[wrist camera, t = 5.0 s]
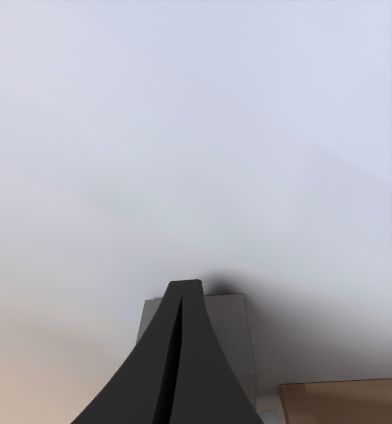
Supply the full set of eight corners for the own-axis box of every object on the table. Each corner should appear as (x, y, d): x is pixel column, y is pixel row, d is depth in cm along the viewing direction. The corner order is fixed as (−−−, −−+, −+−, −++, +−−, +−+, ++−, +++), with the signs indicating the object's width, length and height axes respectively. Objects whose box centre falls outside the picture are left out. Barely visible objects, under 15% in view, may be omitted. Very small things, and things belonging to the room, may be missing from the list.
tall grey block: (245, 395, 19) (255, 472, 16) (173, 398, 19) (168, 474, 16) (242, 293, 14) (256, 373, 11) (145, 300, 14) (128, 379, 11)
